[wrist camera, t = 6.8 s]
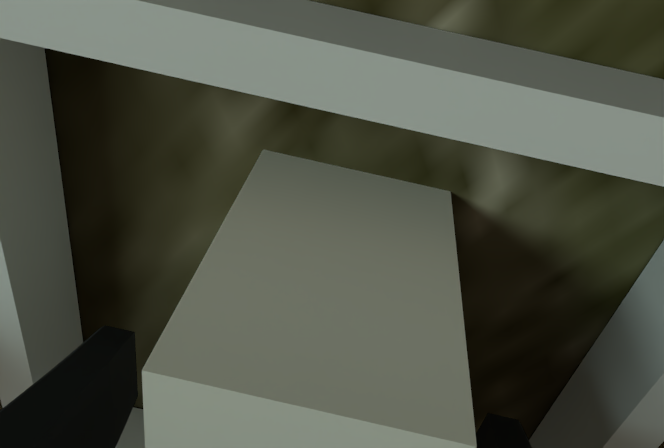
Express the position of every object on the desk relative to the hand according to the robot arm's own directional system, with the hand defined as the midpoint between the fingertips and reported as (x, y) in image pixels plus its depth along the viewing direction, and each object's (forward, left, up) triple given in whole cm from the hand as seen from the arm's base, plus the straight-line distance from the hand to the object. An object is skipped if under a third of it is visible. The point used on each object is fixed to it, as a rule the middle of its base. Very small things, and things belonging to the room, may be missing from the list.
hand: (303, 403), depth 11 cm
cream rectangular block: (0, 0, -3) cm, 3 cm away
